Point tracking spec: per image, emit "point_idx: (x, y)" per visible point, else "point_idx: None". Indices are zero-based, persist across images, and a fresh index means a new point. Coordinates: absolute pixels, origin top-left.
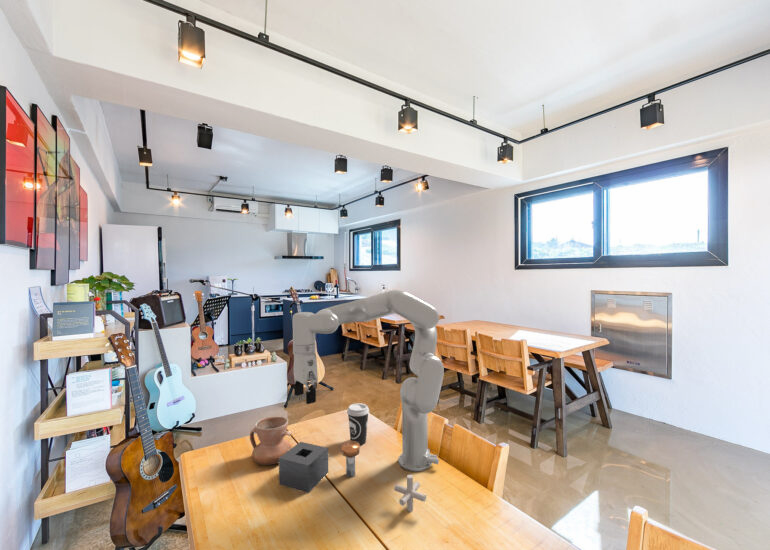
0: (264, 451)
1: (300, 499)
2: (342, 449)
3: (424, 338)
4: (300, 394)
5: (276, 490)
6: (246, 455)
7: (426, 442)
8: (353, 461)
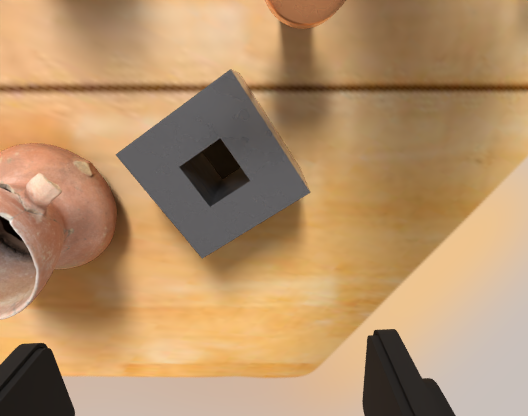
0: (78, 251)
1: (310, 194)
2: (305, 24)
3: None
4: (59, 374)
5: None
6: None
7: None
8: None
